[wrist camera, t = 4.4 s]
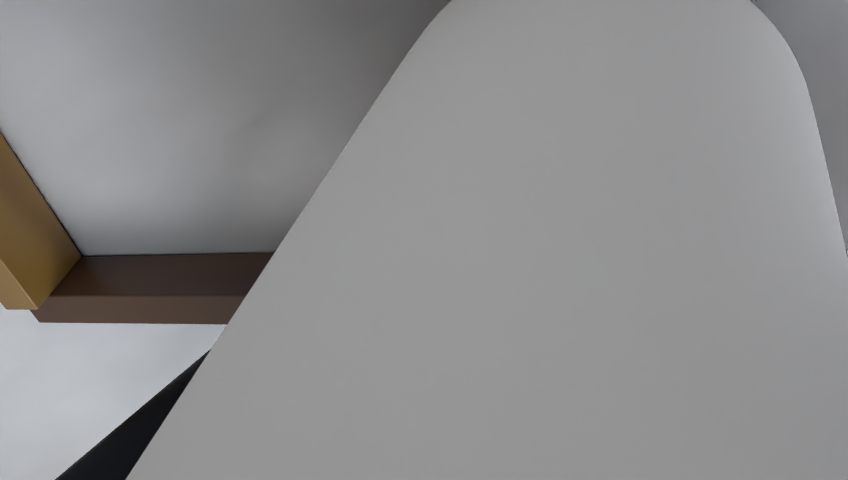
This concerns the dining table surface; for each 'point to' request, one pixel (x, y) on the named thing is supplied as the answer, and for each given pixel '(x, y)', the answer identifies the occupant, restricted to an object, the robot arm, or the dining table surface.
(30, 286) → the brown wooden bent bar
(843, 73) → the dining table surface
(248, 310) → the can
